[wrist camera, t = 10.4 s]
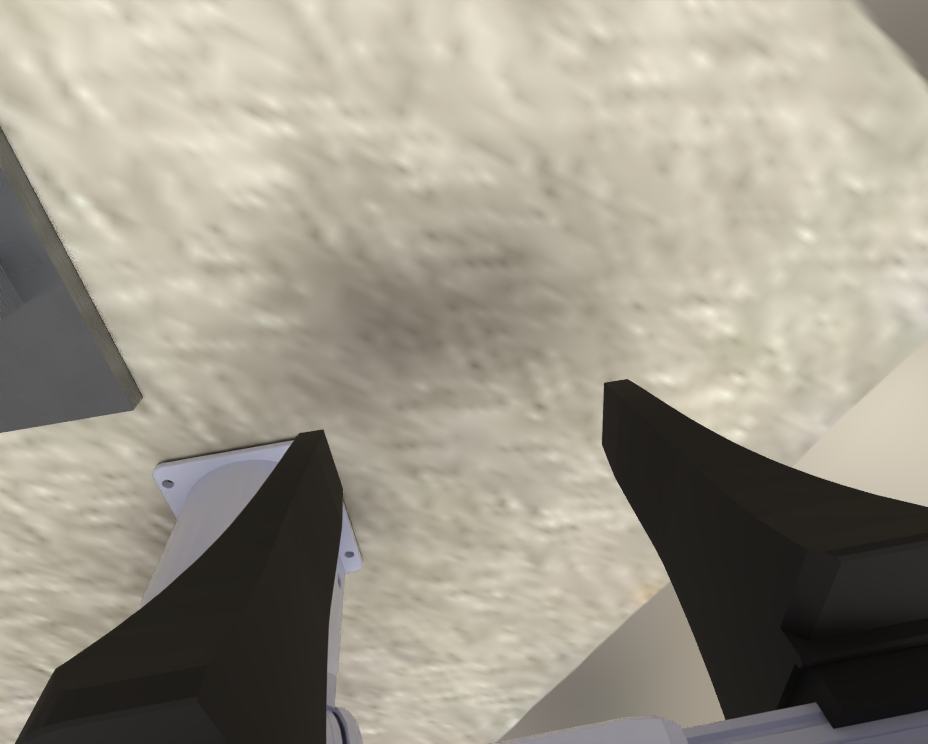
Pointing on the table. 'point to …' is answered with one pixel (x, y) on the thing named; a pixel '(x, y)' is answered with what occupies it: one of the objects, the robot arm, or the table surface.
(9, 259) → the fitting plate
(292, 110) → the table surface
